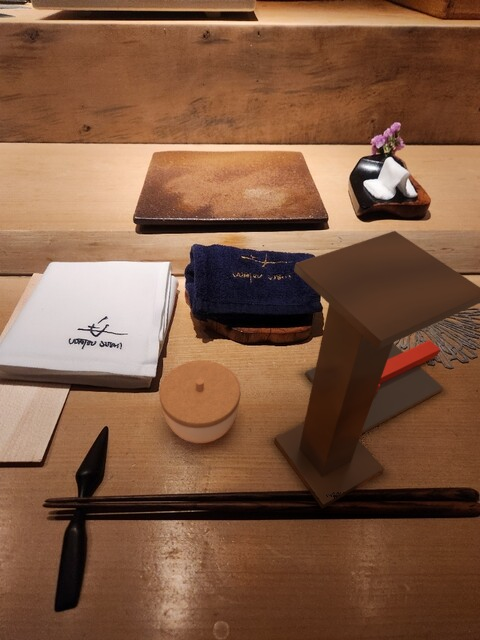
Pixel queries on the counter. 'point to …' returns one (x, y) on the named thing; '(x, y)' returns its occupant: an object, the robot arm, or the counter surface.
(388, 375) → the red block
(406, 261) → the pedestal stand
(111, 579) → the counter surface
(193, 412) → the trinket box
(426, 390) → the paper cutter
